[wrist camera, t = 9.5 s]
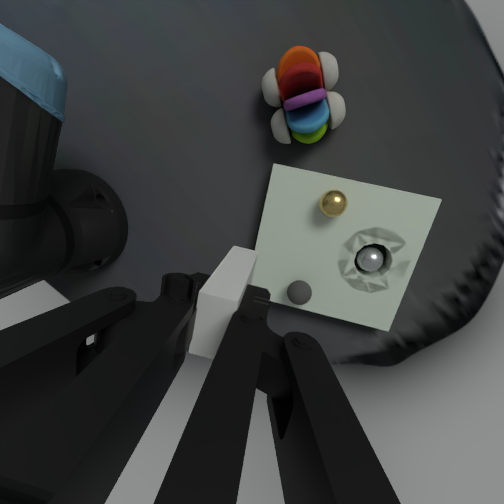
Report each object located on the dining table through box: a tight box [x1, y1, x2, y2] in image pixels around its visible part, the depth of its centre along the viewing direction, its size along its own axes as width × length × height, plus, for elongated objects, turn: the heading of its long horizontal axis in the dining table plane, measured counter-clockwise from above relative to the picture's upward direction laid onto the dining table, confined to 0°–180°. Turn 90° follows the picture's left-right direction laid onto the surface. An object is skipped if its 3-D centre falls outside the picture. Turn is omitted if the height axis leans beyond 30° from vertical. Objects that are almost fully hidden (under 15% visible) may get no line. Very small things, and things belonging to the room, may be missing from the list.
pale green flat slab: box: [251, 164, 442, 331], centre depth 38 cm, size 20×18×2 cm
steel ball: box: [357, 247, 383, 272], centre depth 37 cm, size 3×3×3 cm
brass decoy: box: [319, 190, 348, 217], centre depth 33 cm, size 3×3×3 cm
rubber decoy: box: [287, 280, 312, 305], centre depth 37 cm, size 3×3×3 cm
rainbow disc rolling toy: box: [261, 46, 346, 144], centre depth 31 cm, size 8×10×7 cm
